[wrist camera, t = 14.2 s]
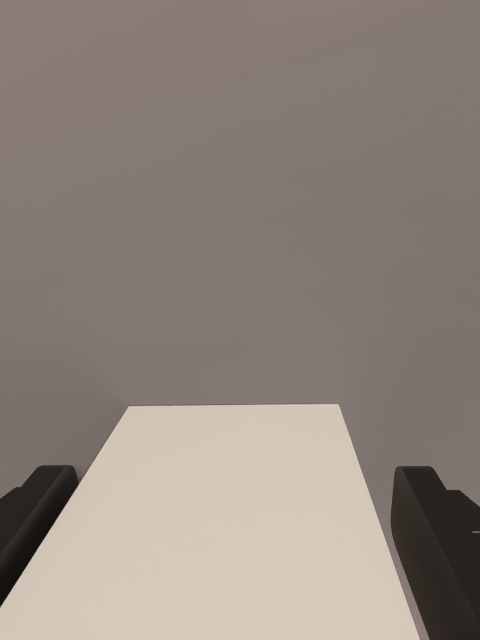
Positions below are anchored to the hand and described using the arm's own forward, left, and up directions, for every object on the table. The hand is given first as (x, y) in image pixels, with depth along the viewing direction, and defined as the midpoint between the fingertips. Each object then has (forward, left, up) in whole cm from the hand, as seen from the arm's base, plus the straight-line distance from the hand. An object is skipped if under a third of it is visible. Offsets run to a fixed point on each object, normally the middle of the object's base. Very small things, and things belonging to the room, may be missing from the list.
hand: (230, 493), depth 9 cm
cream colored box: (-2, +2, -3) cm, 4 cm away
